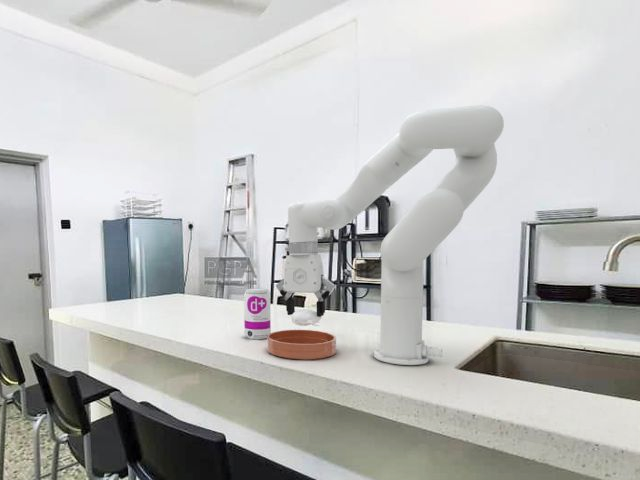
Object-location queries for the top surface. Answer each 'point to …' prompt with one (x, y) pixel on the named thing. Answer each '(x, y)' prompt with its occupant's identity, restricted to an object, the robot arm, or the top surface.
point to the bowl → (301, 344)
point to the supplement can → (257, 313)
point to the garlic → (305, 317)
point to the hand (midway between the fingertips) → (305, 314)
